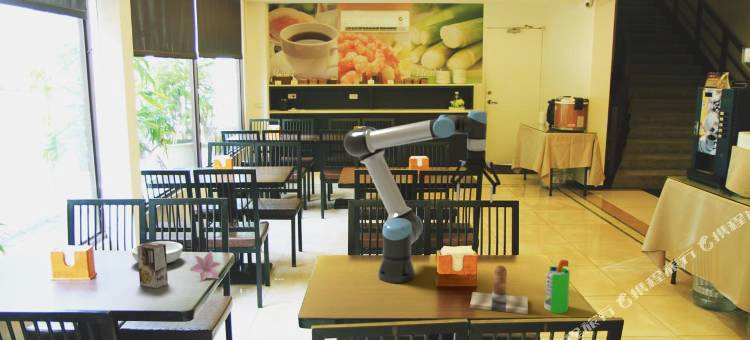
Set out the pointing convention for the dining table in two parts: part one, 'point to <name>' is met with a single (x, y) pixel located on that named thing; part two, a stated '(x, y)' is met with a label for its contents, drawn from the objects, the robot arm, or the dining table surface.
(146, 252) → the coffee box
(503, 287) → the brown rounded cylinder
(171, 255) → the serving bowl
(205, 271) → the lily
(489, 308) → the subfloor panel
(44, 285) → the dining table surface
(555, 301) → the green lighter
